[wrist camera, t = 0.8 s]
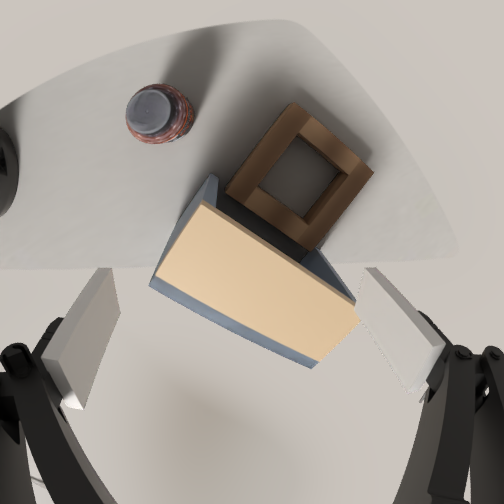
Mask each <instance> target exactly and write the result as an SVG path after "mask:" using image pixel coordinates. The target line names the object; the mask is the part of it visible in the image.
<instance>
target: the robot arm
mask: <svg viewBox="0 0 504 504" xmlns="http://www.w3.org/2000/svg"><path fill="white" fill-rule="evenodd" d="M17 183H18V163H17V156H16V152H15V149H14V146H13V143H12V141H11V139H10V138H9V136H8V135H7V133H6V132H5V131H4V130H2V129H1V128H0V217H1V216H2V215H4V214H5V213H6V212H7V210H8V209H9V208H10V206H11V204H12V202H13V200H14V197H15V194H16V189H17ZM354 311H355V313H356V314H357V316H358V317H359V319H360V320H361V322H362V323H363V325H364V326H365V328H366V329H367V331H368V332H369V334H370V335H371V337H372V338H373V340H374V341H375V343H376V345H377V346H378V348H379V349H380V351H381V352H382V354H383V356H384V357H385V359H386V360H387V362H388V364H389V365H390V367H391V368H392V370H393V371H394V373H395V375H396V377H397V378H398V380H399V381H400V383H401V385H402V386H403V388H404V390H405V391H406V393H407V394H409V393H412V392H415V391H419V390H420V389H421V388H422V386H423V384H424V383H425V381H426V382H427V383H428V384H429V387H428V389H427V390H426V392H425V393H424V395H423V396H422V398H421V399H420V402H419V403H421V402H422V401H423V399H424V405H423V409H422V414H421V418H420V422H419V426H418V430H417V434H416V438H415V441H414V445H413V448H412V452H411V455H410V458H409V461H408V465H407V467H406V470H405V474H404V476H403V479H402V482H401V484H400V487H399V490H398V492H397V495H396V497H395V500H394V502H393V504H470V503H469V502H468V501H465V500H464V492H465V487H466V482H467V477H468V471H469V465H470V480H471V504H504V354H503V352H502V351H501V350H500V349H499V348H497V347H494V346H487V347H486V348H485V350H484V351H483V353H482V355H475V354H473V353H472V352H471V351H470V350H469V349H468V348H467V347H464V346H461V345H453V344H452V343H451V342H450V341H449V340H448V339H447V337H446V336H445V335H444V334H443V333H442V332H441V331H440V330H439V329H438V327H437V326H436V325H435V324H433V322H432V320H431V319H430V318H429V317H428V316H427V315H425V314H424V313H422V312H421V311H417V310H416V309H415V308H414V307H413V306H412V304H411V303H409V301H408V300H407V299H406V298H405V297H404V296H403V295H402V294H401V293H400V292H399V291H398V290H397V288H396V287H395V286H394V285H393V284H392V283H391V282H390V281H389V280H388V279H387V278H386V277H385V276H384V275H383V274H382V273H381V272H380V271H379V270H378V269H377V268H364V272H363V276H362V280H361V284H360V288H359V292H358V296H357V300H356V304H355V307H354ZM119 316H120V308H119V304H118V299H117V294H116V289H115V284H114V279H113V273H112V268H98V269H97V270H96V272H95V273H94V275H93V276H92V277H91V279H90V280H89V282H88V283H87V285H86V286H85V287H84V289H83V290H82V292H81V293H80V295H79V296H78V298H77V299H76V301H75V302H74V304H73V305H72V307H71V308H70V310H69V311H68V313H67V314H66V316H65V318H60V317H58V318H57V319H56V320H54V321H53V322H52V323H50V325H49V326H48V328H47V329H46V331H45V333H44V334H43V336H42V337H41V339H40V340H39V342H38V344H37V345H36V347H35V349H34V350H33V352H32V354H31V353H30V351H29V349H28V347H27V345H25V344H23V343H14V344H11V345H9V346H7V347H6V348H5V349H4V350H3V351H2V353H1V355H0V362H1V363H2V365H3V367H4V369H5V370H6V372H0V504H36V501H35V496H34V492H33V487H32V482H31V477H30V471H29V465H28V458H27V450H26V441H25V437H26V440H27V442H28V445H29V448H30V451H31V453H32V456H33V458H34V461H35V463H36V466H37V468H38V470H39V473H40V475H41V477H42V479H43V482H44V484H45V486H46V488H47V490H48V492H49V494H50V496H51V498H52V500H53V502H54V503H55V504H117V503H116V501H115V500H114V498H113V497H112V495H111V494H110V493H109V491H108V490H107V488H106V487H105V485H104V484H103V482H102V481H101V479H100V478H99V476H98V475H97V473H96V471H95V470H94V468H93V467H92V465H91V463H90V462H89V460H88V458H87V457H86V455H85V453H84V451H83V450H82V448H81V446H80V444H79V442H78V440H77V438H76V437H75V435H74V433H73V431H72V429H71V427H70V425H69V423H68V421H67V419H66V416H65V414H64V412H63V410H62V408H61V407H60V403H61V400H62V398H63V400H64V401H65V403H66V405H67V406H68V407H72V408H76V409H81V410H84V408H85V405H86V402H87V399H88V396H89V393H90V390H91V387H92V385H93V382H94V379H95V376H96V373H97V371H98V368H99V365H100V362H101V359H102V357H103V355H104V352H105V350H106V347H107V344H108V342H109V339H110V337H111V334H112V332H113V330H114V327H115V325H116V322H117V320H118V318H119ZM488 387H489V393H488V395H487V396H486V394H485V391H486V389H487V388H488Z"/></svg>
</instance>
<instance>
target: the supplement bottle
mask: <svg viewBox="0 0 504 504" xmlns="http://www.w3.org/2000/svg"><path fill="white" fill-rule="evenodd" d="M194 117H195V116H194V109H193V107H192V105H191V103H190V102H189V100H188V99H186V98H185V97H184V96H183V95H182V94H181V93H180V92H179V91H178V90H176V89H175V88H173V87H171V86H169V85H165V84H152V85H149V86H146V87H144V88H142V89H141V90H139V91H138V92H137V93H136V94H135V95H134V96H133V97H132V98H131V100H130V102H129V103H128V105H127V109H126V123H127V126H128V129H129V131H130V132H131V134H132V135H133V136H134V137H136V138H137V139H138V140H140V141H142V142H145V143H149V144H160V143H166V142H173V141H176V140H179V139H181V138H182V137H184V136H185V135H186V134H187V133H188V132H189V131H190V129H191V128H192V126H193V123H194Z"/></svg>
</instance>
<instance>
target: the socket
mask: <svg viewBox="0 0 504 504" xmlns="http://www.w3.org/2000/svg"><path fill="white" fill-rule="evenodd" d="M296 135H297V136H298V137H300V138H301V139H302V140H303V141H305V142H306V143H307V144H308V145H309V146H311V147H312V148H313V149H314V150H315V151H317V152H318V153H319V154H320V155H321V156H323V157H324V158H325V159H326V160H327V161H329V162H330V163H331V164H332V165H333V166H334V167H335V168H337V169H338V170H339V171H340V172H339V173H338V174H337V176H336V177H335V178H334V180H333V181H332V182H331V183H330V185H329V186H328V187H327V188H326V190H325V191H324V192H323V194H322V195H321V196H320V197H319V199H318V200H317V201H316V202H315V204H314V205H313V206H312V207H311V209H310V210H309V211H308V212H307V214H306V215H305V216H304V218H303V219H302V218H301V217H300V216H298V215H297V214H296V213H294V212H293V211H292V210H290V209H289V208H288V207H286V206H285V205H283V204H282V203H281V202H279V201H278V200H277V199H275V198H274V197H273V196H271V195H270V194H268V193H267V192H266V191H264V190H263V189H261V188H260V187H259V186H258V184H259V183H260V182H261V180H262V179H263V178H264V177H265V175H266V174H267V173H268V171H269V170H270V169H271V167H272V166H273V165H274V163H275V162H276V161H277V160H278V158H279V157H280V156H281V154H282V153H283V152H284V151H285V149H286V148H287V147H288V145H289V144H290V143H291V142H292V140H293V139H294V138H295V137H296ZM373 173H374V172H373V171H372V170H371V169H370V168H369V167H368V166H367V165H366V164H365V163H364V162H363V161H362V160H361V159H360V158H359V157H358V156H356V155H355V154H354V153H353V152H352V151H351V150H350V149H349V148H348V147H347V146H346V145H345V144H344V143H342V142H341V141H340V140H339V139H338V138H337V137H336V136H335V135H333V134H332V133H331V132H330V131H329V130H328V129H327V128H325V127H324V126H323V125H322V124H321V123H320V122H318V121H317V120H316V119H315V118H314V117H312V116H311V115H310V114H309V113H307V112H306V111H305V110H304V109H302V108H301V107H300V106H299V105H297V104H296V103H295V102H294V103H291V104H289V105H288V106H287V107H286V109H285V110H284V111H283V112H282V114H281V115H280V116H279V117H278V119H277V120H276V121H275V122H274V124H273V125H272V126H271V127H270V129H269V130H268V131H267V133H266V134H265V135H264V136H263V138H262V139H261V140H260V142H259V143H258V144H257V145H256V147H255V148H254V149H253V151H252V152H251V153H250V155H249V156H248V157H247V159H246V160H245V161H244V163H243V164H242V165H241V167H240V168H239V169H238V171H237V172H236V173H235V175H234V176H233V178H232V179H231V180H230V182H229V183H228V184H227V186H226V187H225V193H226V194H228V195H229V196H231V197H232V198H234V199H235V200H237V201H238V202H240V203H241V204H243V205H244V206H245V207H247V208H248V209H250V210H251V211H253V212H254V213H256V214H257V215H259V216H260V217H261V218H263V219H264V220H266V221H267V222H269V223H270V224H271V225H273V226H274V227H276V228H277V229H279V230H280V231H281V232H283V233H284V234H286V235H287V236H289V237H290V238H291V239H293V240H294V241H296V242H297V243H298V244H300V245H301V246H303V247H304V248H305V249H307V250H308V251H310V252H311V251H312V250H313V249H314V248H315V247H316V245H317V244H318V243H319V242H320V240H321V239H322V238H323V237H324V236H325V234H326V233H327V232H328V231H329V229H330V228H331V227H332V226H333V224H334V223H335V222H336V221H337V219H338V218H339V217H340V216H341V214H342V213H343V212H344V211H345V209H346V208H347V207H348V206H349V204H350V203H351V202H352V201H353V199H354V198H355V197H356V195H357V194H358V193H359V192H360V190H361V189H362V188H363V186H364V185H365V184H366V183H367V181H368V180H369V179H370V177H371V176H372V175H373Z"/></svg>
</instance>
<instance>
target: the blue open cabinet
mask: <svg viewBox="0 0 504 504" xmlns="http://www.w3.org/2000/svg"><path fill="white" fill-rule="evenodd" d="M218 181H219V178H217V177H216V176H214V175H213V174H211V173H210V175H209V176H208V178H207V179H206V181H205V182H204V183H203V185H202V186H201V188H200V189H199V191H198V192H197V194H196V195H195V197H194V198H193V199H192V201H191V202H190V204H189V205H188V207H187V208H186V210H185V211H184V213H183V215H182V216H181V218H180V219H179V221H178V222H177V224H176V225H175V228H174V230H173V232H172V234H171V236H170V238H169V240H168V242H167V245H166V247H165V249H164V251H163V253H162V256H161V258H160V260H159V262H158V265H157V267H156V269H155V272H154V274H153V276H152V278H151V281H150V283H149V286H150V287H151V288H153V289H155V290H156V291H158V292H160V293H161V294H163V295H165V296H167V297H168V298H170V299H172V300H174V301H176V302H177V303H179V304H181V305H183V306H185V307H186V308H188V309H190V310H192V311H193V312H195V313H197V314H199V315H201V316H203V317H205V318H207V319H208V320H210V321H212V322H214V323H216V324H218V325H220V326H222V327H224V328H226V329H227V330H230V331H231V332H234V333H235V334H237V335H239V336H241V337H243V338H245V339H247V340H249V341H251V342H254V343H256V344H258V345H260V346H262V347H264V348H266V349H268V350H271V351H272V352H275V353H277V354H279V355H281V356H283V357H285V358H288V359H290V360H292V361H294V362H296V363H299V364H301V365H303V366H306V367H308V368H310V369H312V368H313V367H314V366H315V365H316V364H317V363H319V362H320V361H321V360H322V359H323V358H324V357H325V356H326V355H327V354H328V353H329V352H330V351H331V350H332V349H333V348H334V347H335V346H336V345H337V344H339V343H340V342H341V341H342V340H343V338H345V337H346V335H348V334H349V333H350V332H351V330H353V329H354V328H355V326H356V325H357V324H358V323H359V322H360V321H361V320H360V319H359V317H358V316H357V314H356V313H355V311H354V307H355V304H356V299H355V297H354V296H353V295H352V293H351V292H350V290H349V289H348V288H347V286H346V285H345V284H344V282H343V281H342V279H341V278H340V277H339V275H338V274H337V273H336V271H335V270H334V268H333V267H332V266H331V264H330V263H329V262H328V260H327V259H326V258H325V256H324V255H323V253H322V252H321V251H320V250H319V249H318V248H316V247H315V248H314V249H313V250H312V251H311V252H310V251H309V252H308V253H307V255H306V256H305V257H304V258H303V259H302V261H301V262H300V263H297V262H296V261H294V260H293V259H291V258H290V257H288V256H287V255H285V254H284V253H282V252H281V251H279V250H278V249H276V248H275V247H273V246H272V245H271V244H269V243H268V242H266V241H265V240H263V239H262V238H260V237H259V236H257V235H256V234H254V233H253V232H251V231H250V230H248V229H247V228H245V227H244V226H242V225H241V224H239V223H238V222H236V221H235V220H233V219H232V218H230V217H229V216H227V215H226V214H224V213H223V212H221V211H220V210H218V209H217V208H216V200H217V190H218Z"/></svg>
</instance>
